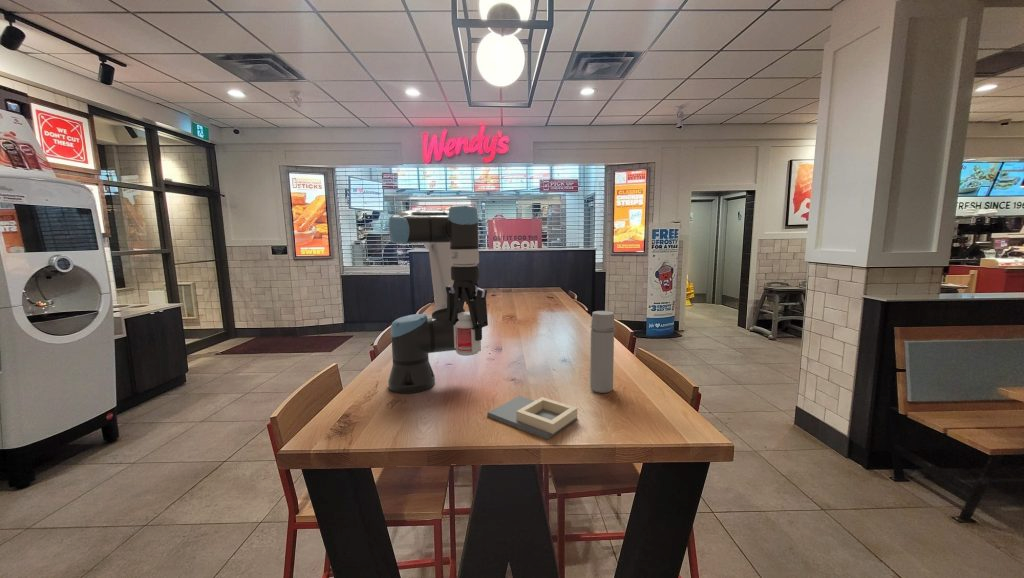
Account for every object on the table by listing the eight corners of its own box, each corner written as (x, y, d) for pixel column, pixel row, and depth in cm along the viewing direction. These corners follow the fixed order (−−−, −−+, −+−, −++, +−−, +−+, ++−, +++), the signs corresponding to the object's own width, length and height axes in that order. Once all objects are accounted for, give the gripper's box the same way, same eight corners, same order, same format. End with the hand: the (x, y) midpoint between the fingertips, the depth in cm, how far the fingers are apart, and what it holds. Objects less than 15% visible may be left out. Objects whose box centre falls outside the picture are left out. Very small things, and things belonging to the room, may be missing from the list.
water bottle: (604, 396, 118) (606, 316, 115) (584, 389, 124) (585, 312, 121) (621, 388, 124) (623, 311, 121) (601, 381, 130) (602, 308, 127)
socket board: (487, 416, 107) (487, 403, 106) (519, 399, 117) (519, 387, 117) (550, 440, 93) (550, 426, 93) (579, 419, 104) (579, 406, 103)
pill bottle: (482, 353, 105) (481, 313, 104) (462, 357, 102) (461, 316, 100) (472, 348, 110) (471, 310, 109) (452, 352, 107) (451, 312, 105)
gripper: (430, 264, 106) (434, 346, 109) (480, 267, 94) (483, 359, 97) (451, 263, 112) (454, 340, 115) (501, 265, 99) (502, 352, 103)
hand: (467, 349), depth 106 cm, fingers closed on pill bottle, 6 cm apart
